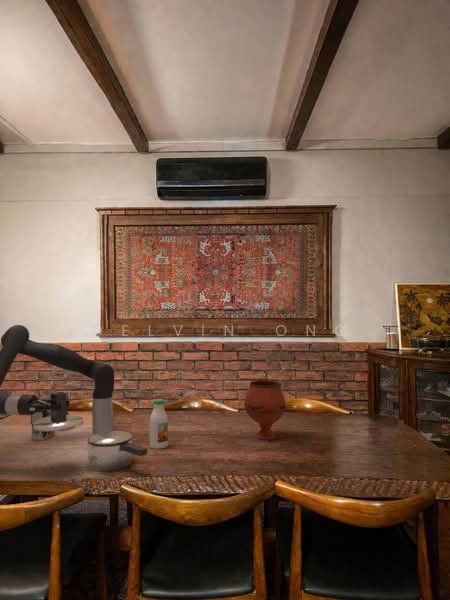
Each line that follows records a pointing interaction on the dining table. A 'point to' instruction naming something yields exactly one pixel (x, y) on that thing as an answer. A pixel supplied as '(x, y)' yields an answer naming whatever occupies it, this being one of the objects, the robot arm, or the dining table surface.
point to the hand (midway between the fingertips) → (65, 405)
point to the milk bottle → (158, 426)
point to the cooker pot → (112, 450)
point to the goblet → (265, 405)
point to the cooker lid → (58, 416)
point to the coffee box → (36, 433)
